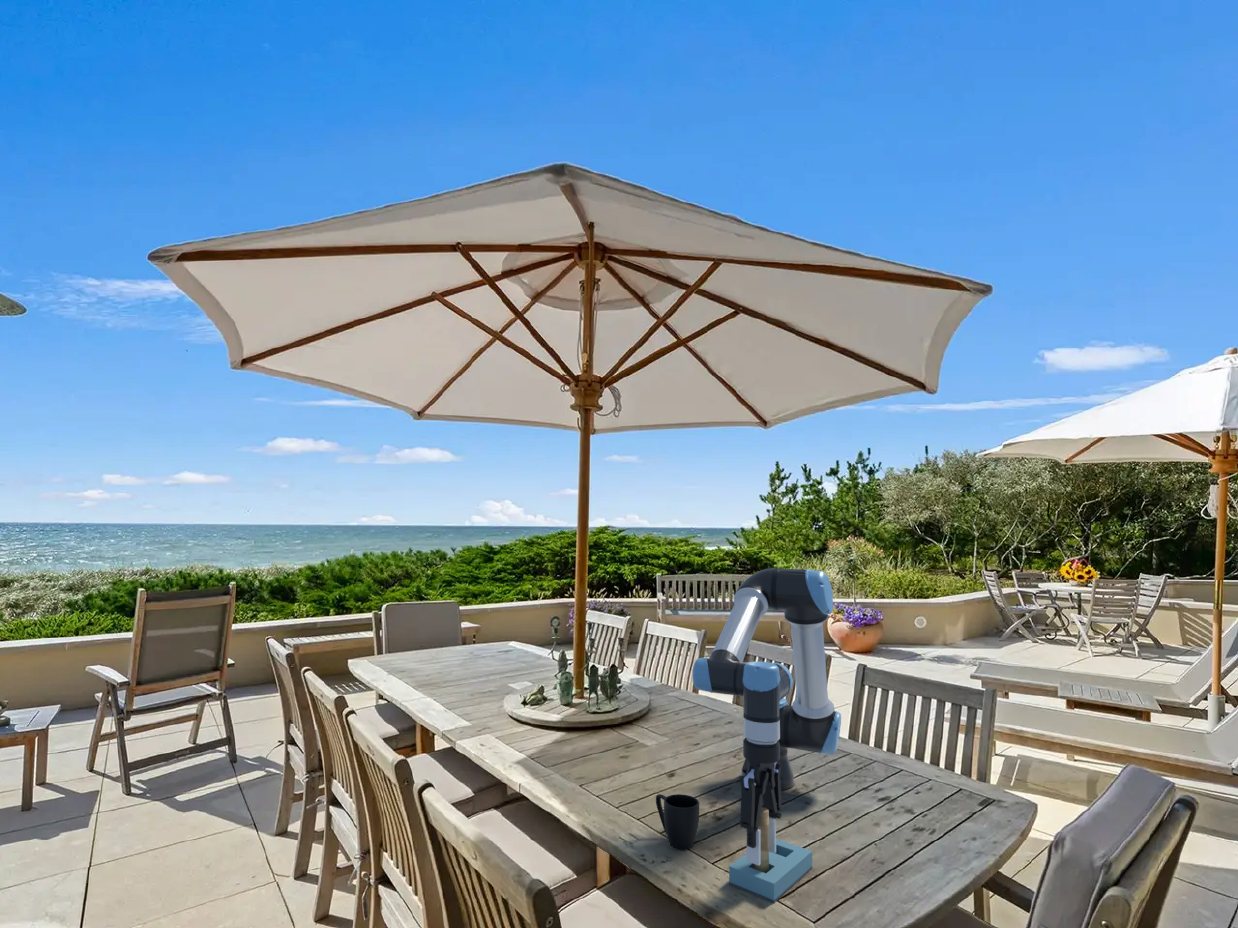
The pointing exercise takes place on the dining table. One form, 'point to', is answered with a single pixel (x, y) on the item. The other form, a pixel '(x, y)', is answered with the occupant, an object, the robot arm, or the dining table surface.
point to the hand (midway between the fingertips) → (761, 856)
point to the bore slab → (772, 872)
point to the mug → (679, 819)
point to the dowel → (764, 840)
